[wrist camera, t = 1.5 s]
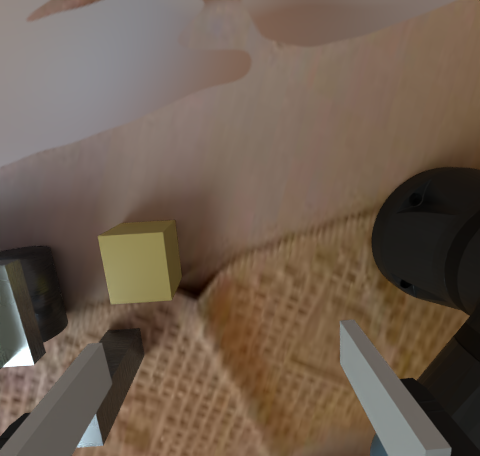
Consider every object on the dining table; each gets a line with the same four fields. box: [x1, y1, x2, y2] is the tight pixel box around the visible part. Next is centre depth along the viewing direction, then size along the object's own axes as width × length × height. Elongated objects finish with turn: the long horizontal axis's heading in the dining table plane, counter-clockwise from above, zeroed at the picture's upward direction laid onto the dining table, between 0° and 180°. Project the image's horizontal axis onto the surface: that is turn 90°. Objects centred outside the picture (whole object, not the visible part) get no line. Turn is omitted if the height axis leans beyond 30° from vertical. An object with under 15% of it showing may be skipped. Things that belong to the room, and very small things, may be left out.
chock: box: [98, 220, 182, 304], centre depth 28 cm, size 6×7×6 cm
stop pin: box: [76, 328, 144, 448], centre depth 28 cm, size 4×4×11 cm
